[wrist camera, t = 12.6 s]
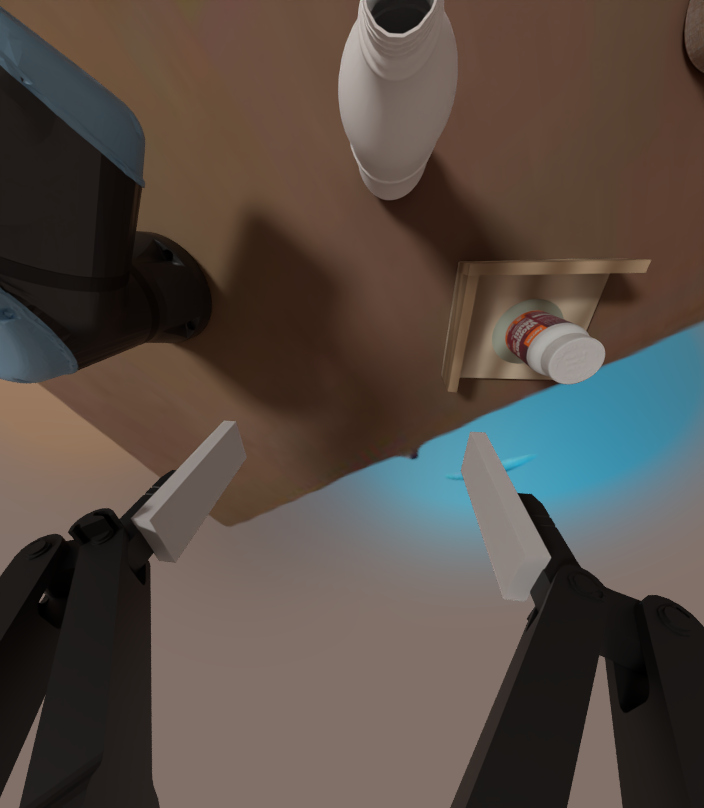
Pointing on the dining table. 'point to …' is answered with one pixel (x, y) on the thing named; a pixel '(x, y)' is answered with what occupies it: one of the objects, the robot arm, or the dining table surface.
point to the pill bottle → (554, 347)
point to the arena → (518, 308)
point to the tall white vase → (397, 90)
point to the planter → (695, 33)
